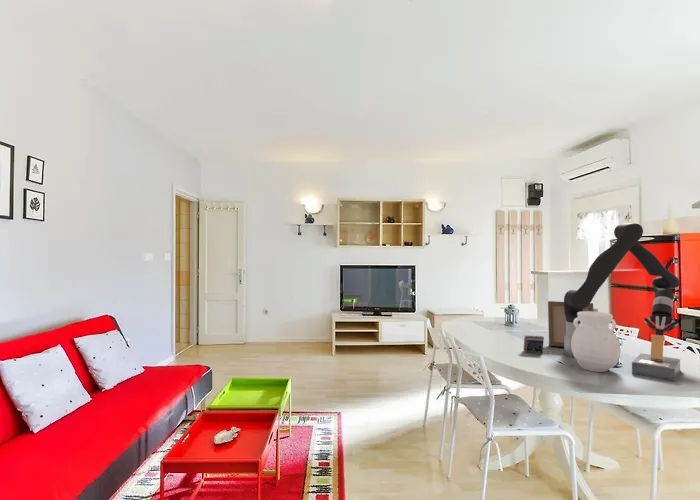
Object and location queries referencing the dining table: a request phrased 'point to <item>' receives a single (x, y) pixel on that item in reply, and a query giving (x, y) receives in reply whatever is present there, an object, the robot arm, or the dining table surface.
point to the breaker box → (656, 367)
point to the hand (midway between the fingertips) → (659, 337)
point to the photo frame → (558, 322)
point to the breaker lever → (657, 347)
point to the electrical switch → (533, 344)
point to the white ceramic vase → (595, 341)
